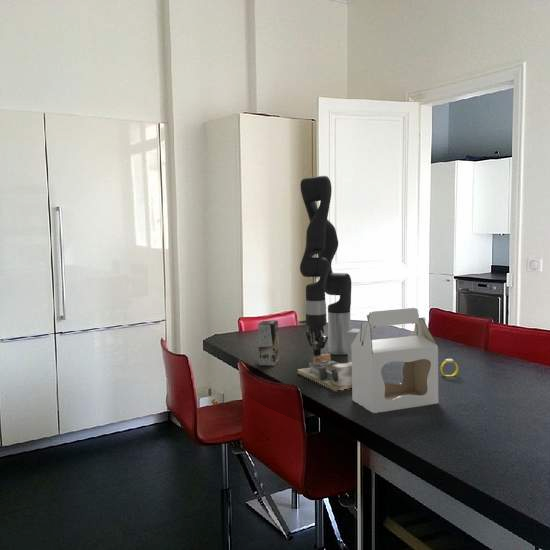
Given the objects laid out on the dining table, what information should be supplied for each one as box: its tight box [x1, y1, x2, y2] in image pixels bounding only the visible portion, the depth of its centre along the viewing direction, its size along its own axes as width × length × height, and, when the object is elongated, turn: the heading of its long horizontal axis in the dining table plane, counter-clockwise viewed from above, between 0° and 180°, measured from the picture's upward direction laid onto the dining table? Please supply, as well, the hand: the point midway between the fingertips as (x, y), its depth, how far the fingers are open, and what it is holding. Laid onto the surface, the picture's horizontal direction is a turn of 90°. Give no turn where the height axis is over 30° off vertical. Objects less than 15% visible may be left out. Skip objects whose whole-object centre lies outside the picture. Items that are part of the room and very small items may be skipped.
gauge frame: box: [297, 360, 352, 392], centre depth 199 cm, size 15×26×8 cm, turn 24°
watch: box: [439, 358, 459, 378], centre depth 198 cm, size 6×3×6 cm, turn 94°
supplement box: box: [347, 328, 361, 363], centre depth 221 cm, size 7×7×13 cm
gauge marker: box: [319, 367, 327, 379], centre depth 193 cm, size 2×1×4 cm, turn 114°
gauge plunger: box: [308, 352, 337, 371], centre depth 204 cm, size 10×6×5 cm, turn 114°
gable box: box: [351, 307, 439, 414], centre depth 171 cm, size 22×13×28 cm, turn 109°
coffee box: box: [257, 320, 280, 367], centre depth 225 cm, size 9×6×16 cm
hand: (317, 359), depth 210 cm, fingers closed
